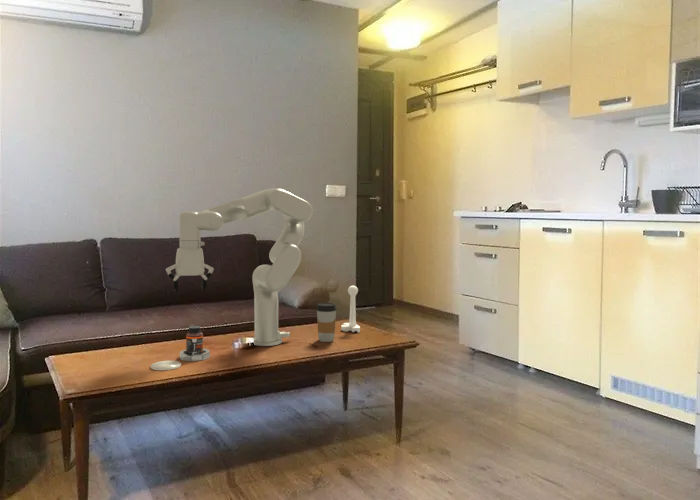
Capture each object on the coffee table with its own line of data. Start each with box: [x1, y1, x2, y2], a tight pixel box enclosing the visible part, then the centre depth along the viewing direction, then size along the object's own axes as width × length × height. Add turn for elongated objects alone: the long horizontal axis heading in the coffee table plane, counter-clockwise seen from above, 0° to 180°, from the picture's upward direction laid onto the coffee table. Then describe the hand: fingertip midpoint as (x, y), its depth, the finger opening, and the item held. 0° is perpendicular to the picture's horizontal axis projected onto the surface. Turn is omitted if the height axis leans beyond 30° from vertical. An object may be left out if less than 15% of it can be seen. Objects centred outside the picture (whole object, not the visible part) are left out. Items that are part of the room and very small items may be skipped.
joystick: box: [340, 285, 361, 333], centre depth 258 cm, size 11×8×20 cm
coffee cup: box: [316, 302, 337, 343], centre depth 240 cm, size 8×8×15 cm
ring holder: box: [179, 348, 211, 362], centre depth 214 cm, size 10×10×3 cm
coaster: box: [150, 360, 182, 372], centre depth 202 cm, size 10×10×1 cm
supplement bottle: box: [185, 325, 204, 355], centre depth 213 cm, size 6×6×11 cm
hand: (190, 290), depth 218 cm, fingers open, 9 cm apart
